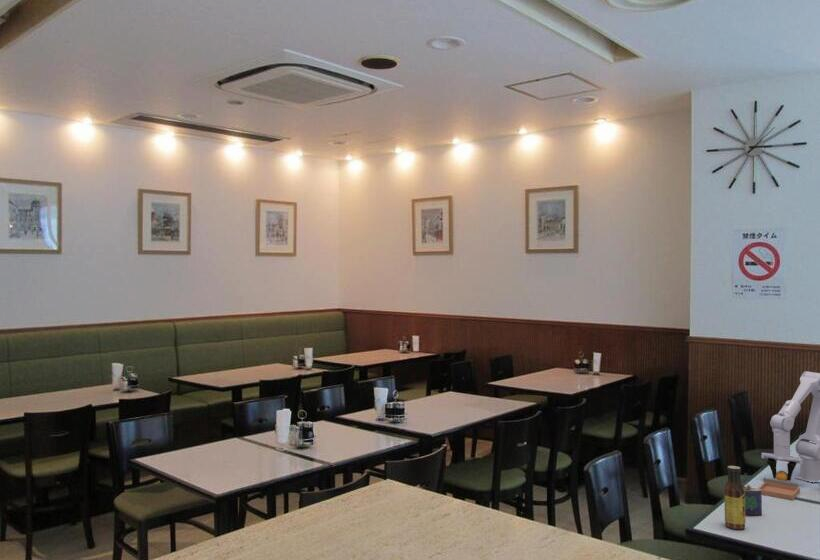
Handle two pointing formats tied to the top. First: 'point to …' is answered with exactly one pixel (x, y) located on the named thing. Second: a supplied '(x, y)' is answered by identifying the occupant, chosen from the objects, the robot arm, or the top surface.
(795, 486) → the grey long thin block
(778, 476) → the ball
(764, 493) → the tray
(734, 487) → the sauce bottle
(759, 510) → the flask
